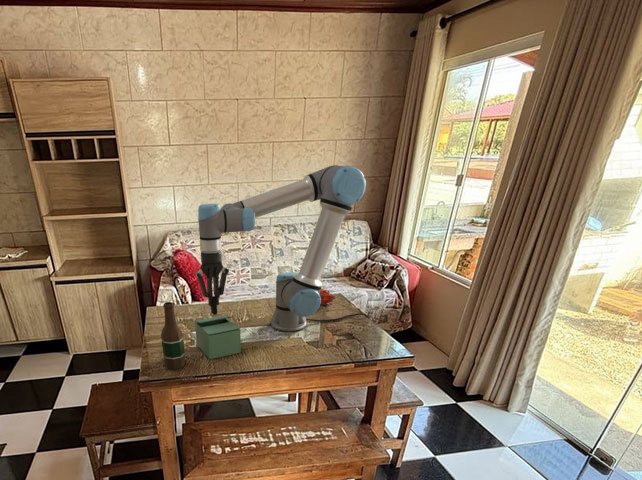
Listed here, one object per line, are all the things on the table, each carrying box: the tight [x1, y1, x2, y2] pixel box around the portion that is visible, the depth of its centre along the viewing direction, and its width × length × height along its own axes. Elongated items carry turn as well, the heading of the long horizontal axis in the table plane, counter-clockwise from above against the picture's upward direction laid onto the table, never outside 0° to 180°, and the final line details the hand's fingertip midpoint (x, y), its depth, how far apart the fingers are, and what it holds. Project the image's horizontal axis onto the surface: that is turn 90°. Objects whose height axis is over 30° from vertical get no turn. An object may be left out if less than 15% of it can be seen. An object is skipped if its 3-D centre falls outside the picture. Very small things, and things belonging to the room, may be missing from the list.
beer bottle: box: [160, 301, 186, 371], centre depth 145 cm, size 8×8×24 cm
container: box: [194, 318, 242, 360], centre depth 159 cm, size 15×13×10 cm
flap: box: [194, 314, 233, 323], centre depth 159 cm, size 7×13×1 cm, turn 113°
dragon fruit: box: [319, 288, 336, 306], centre depth 200 cm, size 8×8×12 cm
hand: (214, 313), depth 156 cm, fingers closed
